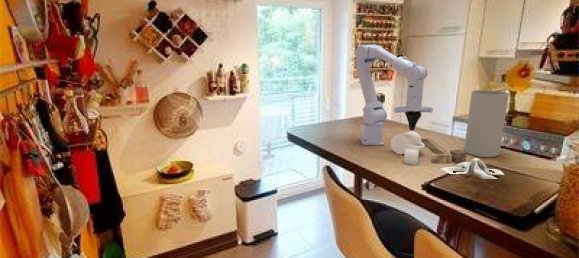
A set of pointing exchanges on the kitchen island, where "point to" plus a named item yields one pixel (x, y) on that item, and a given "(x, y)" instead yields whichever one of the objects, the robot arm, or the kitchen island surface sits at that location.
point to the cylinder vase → (486, 122)
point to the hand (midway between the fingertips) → (411, 129)
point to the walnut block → (458, 156)
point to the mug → (406, 142)
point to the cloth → (473, 169)
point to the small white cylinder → (411, 156)
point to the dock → (437, 152)
